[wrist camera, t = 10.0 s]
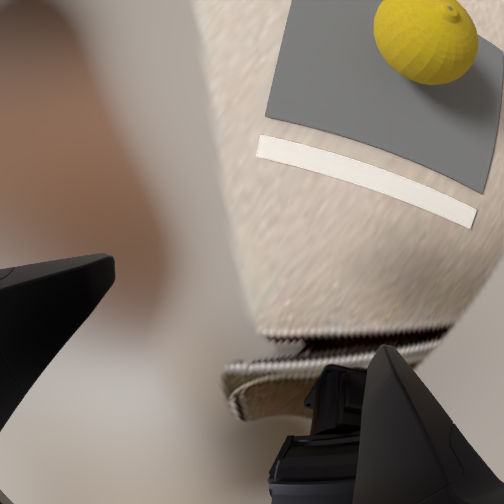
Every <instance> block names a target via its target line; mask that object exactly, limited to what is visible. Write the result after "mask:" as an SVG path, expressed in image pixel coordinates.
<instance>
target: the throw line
mask: <svg viewBox="0 0 504 504" xmlns="http://www.w3.org/2000/svg"><path fill="white" fill-rule="evenodd" d="M256 157H260V158H265V159H269V160H273V161H277V162H281V163H285V164H289V165H293V166H296V167H300V168H304V169H307V170H311V171H314V172H318V173H321V174H325V175H328V176H331V177H335V178H338V179H341V180H344V181H347V182H351V183H354V184H357V185H360V186H363V187H366V188H369V189H372V190H374V191H377V192H380V193H383V194H386V195H389V196H391V197H394V198H397V199H399V200H402V201H405V202H407V203H410V204H412V205H415V206H417V207H420V208H422V209H425V210H427V211H430V212H432V213H435V214H437V215H439V216H442V217H444V218H446V219H449V220H451V221H453V222H455V223H458V224H460V225H462V226H464V227H466V228H468V229H470V228H471V225H472V222H473V220H474V217H475V214H476V211H477V210H476V209H474V208H472V207H470V206H468V205H466V204H464V203H462V202H460V201H458V200H456V199H454V198H452V197H450V196H447V195H445V194H443V193H441V192H439V191H436V190H434V189H432V188H429V187H427V186H425V185H422V184H420V183H417V182H415V181H413V180H410V179H408V178H405V177H402V176H400V175H397V174H395V173H392V172H389V171H387V170H384V169H381V168H378V167H375V166H373V165H370V164H367V163H364V162H361V161H358V160H355V159H352V158H348V157H345V156H342V155H339V154H335V153H332V152H329V151H325V150H322V149H318V148H315V147H311V146H307V145H303V144H299V143H296V142H292V141H287V140H283V139H279V138H275V137H270V136H266V135H261V136H260V140H259V145H258V150H257V154H256Z"/></svg>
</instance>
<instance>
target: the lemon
mask: <svg viewBox="0 0 504 504" xmlns="http://www.w3.org/2000/svg"><path fill="white" fill-rule="evenodd" d="M374 37H375V41H376V45H377V47H378V49H379V51H380V53H381V55H382V57H383V58H384V59H385V60H386V62H387V63H388V64H389V65H390V66H391V67H392V68H393V69H394V70H395V71H396V72H398V73H399V74H401V75H402V76H404V77H406V78H407V79H409V80H412V81H415V82H417V83H421V84H428V85H439V84H447V83H449V82H451V81H454V80H456V79H458V78H460V77H461V76H462V75H463V74H464V73H465V72H466V71H467V70H468V69H469V68H470V67H471V66H472V64H473V62H474V60H475V58H476V55H477V52H478V35H477V31H476V28H475V25H474V23H473V21H472V19H471V17H470V16H469V14H468V13H467V12H466V10H465V9H464V8H463V7H462V6H461V5H460V4H459V3H458V2H457V1H456V0H384V1H383V2H382V3H381V4H380V5H379V7H378V9H377V12H376V15H375V18H374Z"/></svg>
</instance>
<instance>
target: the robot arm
mask: <svg viewBox="0 0 504 504" xmlns="http://www.w3.org/2000/svg"><path fill="white" fill-rule="evenodd" d="M114 281H115V260H114V257H113V256H111V255H108V254H106V253H98V254H92V255H85V256H79V257H72V258H66V259H60V260H54V261H48V262H42V263H35V264H29V265H23V266H18V267H12V268H6V269H0V431H1V430H2V428H3V427H4V425H5V424H6V422H7V421H8V419H9V418H10V416H11V415H12V413H13V412H14V411H15V409H16V408H17V406H18V405H19V403H20V402H21V401H22V399H23V398H24V396H25V395H26V393H27V392H28V390H29V389H30V388H31V387H32V385H33V384H34V383H35V381H36V380H37V379H38V377H39V376H40V375H41V373H42V372H43V371H44V370H45V368H46V367H47V365H49V363H50V362H51V361H52V360H53V358H54V357H55V356H56V355H57V353H58V352H59V351H60V350H61V348H62V347H63V346H64V345H65V343H66V342H67V341H68V340H69V339H70V338H71V336H72V335H73V334H74V333H75V332H76V331H77V329H78V328H79V327H80V326H81V325H82V324H83V322H84V321H85V320H86V319H87V318H88V317H89V316H90V314H91V313H92V312H93V311H94V309H95V307H96V306H97V305H98V304H99V302H100V301H101V299H102V298H103V297H104V296H105V294H106V293H107V291H108V290H109V289H110V287H111V286H112V285H113V283H114ZM304 406H305V407H307V408H311V409H314V410H313V417H312V424H311V430H310V435H309V436H287V438H286V440H285V442H284V443H283V445H282V447H281V450H280V452H279V454H278V456H277V458H276V460H275V462H274V464H273V466H272V468H271V469H270V471H269V477H268V483H269V491H270V495H271V497H272V504H504V483H503V482H502V481H501V480H499V479H498V478H497V476H496V475H495V474H494V473H493V472H492V470H491V469H490V468H489V467H488V466H487V464H486V463H485V462H484V461H483V460H482V458H481V457H480V456H479V455H478V454H477V452H476V451H475V450H474V449H473V447H472V446H471V445H470V444H469V443H468V441H467V440H466V439H465V437H464V436H463V435H462V433H461V432H460V431H459V429H458V428H457V426H456V425H455V424H453V421H452V420H451V418H450V417H449V416H448V414H447V413H446V412H445V411H444V409H443V408H442V406H441V405H440V404H439V403H438V401H437V400H436V399H435V397H434V396H433V395H432V393H431V392H430V391H429V390H428V388H427V387H426V386H425V385H424V383H423V382H422V381H421V380H420V378H419V377H418V376H417V374H416V373H415V372H414V371H413V369H412V368H411V367H410V366H409V364H408V363H407V362H406V361H405V360H404V358H403V357H402V356H401V355H400V353H399V352H398V351H397V350H396V349H395V348H394V347H392V346H388V345H381V346H380V348H379V349H378V351H377V352H376V354H375V355H374V357H373V359H372V360H371V362H370V364H369V366H368V370H367V373H363V372H359V371H354V370H350V369H346V368H342V367H338V366H334V365H327V366H325V367H324V369H323V371H322V372H321V374H320V376H319V378H318V379H317V381H316V383H315V384H314V386H313V388H312V389H311V391H310V393H309V394H308V396H307V398H306V399H305V401H304ZM0 504H13V503H12V502H11V501H10V500H9V499H8V498H7V496H6V495H5V494H4V493H3V492H2V491H1V490H0Z"/></svg>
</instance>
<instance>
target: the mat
mask: <svg viewBox="0 0 504 504" xmlns="http://www.w3.org/2000/svg"><path fill="white" fill-rule="evenodd" d="M383 1H384V0H292V2H291V6H290V11H289V15H288V19H287V23H286V27H285V31H284V35H283V39H282V44H281V48H280V52H279V56H278V61H277V65H276V69H275V74H274V78H273V82H272V87H271V91H270V95H269V100H268V104H267V109H266V113H265V117H269V118H274V119H279V120H283V121H288V122H292V123H296V124H300V125H304V126H308V127H312V128H316V129H320V130H323V131H327V132H330V133H334V134H337V135H341V136H344V137H347V138H350V139H354V140H357V141H360V142H363V143H366V144H369V145H372V146H375V147H377V148H380V149H383V150H386V151H388V152H391V153H394V154H396V155H399V156H402V157H404V158H407V159H409V160H411V161H414V162H416V163H419V164H421V165H423V166H426V167H428V168H430V169H433V170H435V171H437V172H439V173H441V174H443V175H446V176H448V177H450V178H452V179H454V180H456V181H458V182H460V183H462V184H464V185H466V186H468V187H470V188H472V189H474V190H475V191H477V192H479V193H481V194H482V192H483V189H484V185H485V182H486V178H487V175H488V171H489V167H490V163H491V158H492V154H493V149H494V144H495V139H496V134H497V128H498V121H499V114H500V106H501V97H502V84H503V51H502V50H500V49H499V48H497V47H496V46H494V45H493V44H491V43H490V42H488V41H487V40H485V39H484V38H482V37H481V36H479V35H478V52H477V55H476V58H475V60H474V62H473V64H472V66H471V67H470V68H469V69H468V70H467V71H466V72H465V73H464V74H463V75H462V76H461V77H460V78H458V79H456V80H454V81H451V82H449V83H447V84H439V85H428V84H421V83H417V82H415V81H412V80H409V79H407V78H406V77H404V76H402V75H401V74H399V73H398V72H396V71H395V70H394V69H393V68H392V67H391V66H390V65H389V64H388V63H387V62H386V60H385V59H384V58H383V57H382V55H381V53H380V51H379V49H378V47H377V45H376V41H375V37H374V18H375V15H376V12H377V9H378V7H379V5H380V4H381V3H382V2H383Z"/></svg>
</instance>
